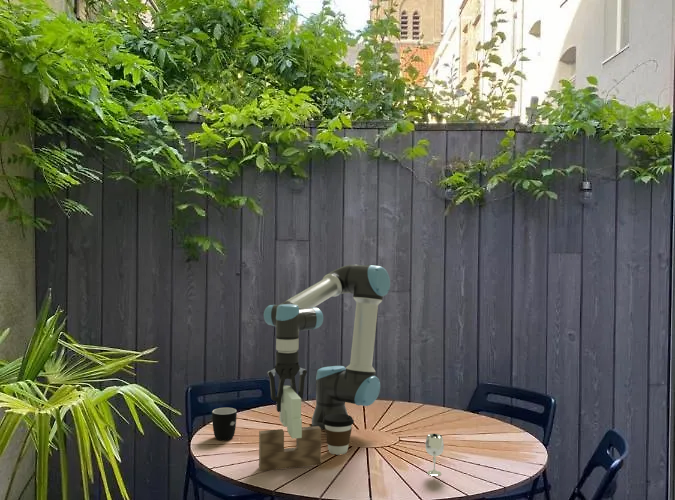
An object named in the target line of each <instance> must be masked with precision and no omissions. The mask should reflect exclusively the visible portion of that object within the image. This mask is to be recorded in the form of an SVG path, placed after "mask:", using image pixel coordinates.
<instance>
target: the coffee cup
mask: <svg viewBox="0 0 675 500" xmlns="http://www.w3.org/2000/svg"><path fill="white" fill-rule="evenodd" d="M354 422H355V420H354V417H352V416H351V415H349V414H348V415H346V414H330V415H327V416H325V417H324V419H323V424H325V430H324V433H325V439H326V444H327V449H328V452H329V453H330V454H331V455H334V454H336V455H335V456H341V455H340V454H342V455H345V454H347V452H348V449H349V445H350V441H351V434H352V426H353V425H354Z"/></svg>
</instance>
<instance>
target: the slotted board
mask: <svg viewBox="0 0 675 500" xmlns="http://www.w3.org/2000/svg"><path fill="white" fill-rule="evenodd" d="M258 431H259V432H258V436H259V437H258V469H259V471H260V472H264V471H267V472H268V471H275V470H284V469H294V468H303V466H306V467H313V466H312V465H316V466H321V465H322V429H321V428H320V427H319V426H303V427H302V438H295V439H296V440H295V441H296V443H295V444H296V446H295V447H288V448H285V431H284V430H283V429H282V428H279V429H266V430H258Z"/></svg>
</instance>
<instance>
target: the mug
mask: <svg viewBox="0 0 675 500" xmlns="http://www.w3.org/2000/svg"><path fill="white" fill-rule="evenodd" d="M237 413H238V412H237V409H236V408H233V407H219V408H215V409H213V410H212V411H211V415H212V416H211V418H212V428H213V429H212V430H213V435H214V438H215V439H216V440H218V441H222V440H224V441H229V440H233V438H234V436H235V433H236V427H237V416H238V415H237Z"/></svg>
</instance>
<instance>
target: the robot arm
mask: <svg viewBox="0 0 675 500" xmlns="http://www.w3.org/2000/svg"><path fill="white" fill-rule="evenodd" d="M390 289H391V279H390V275H389V273H388V271H387V269H385V267H383V266H380V265H373V264H370V265H368V264H363V265H362V264H347V265H344V266H341V267H339V268H336V269H335V270H332V271H330V272H329V273H327V274H325V275H324V276H323V277H322V279H321V280H320V281H318V282H316V283H314V284H312V285H311V286H309V287H307V288H306V289H304V290H303V291H301V292H299V293H297V294H295V295H293V296H292V297H290V298H289V299H287V300H285V301H283V302H281V303H280V304H269V305H268V306H266V307H265V309H264V311H263V320H264V322H265V324H267V325H268V326H273V327H274V328H276V329H275V330H276V332H275V337H276V339H275V341H276V343H275V344H276V345H275V350H276V352H275V366H274V368H273V369H271V370H267V372H266V374H267V375H268V378H269V387H270V388H269V389H270V398H271V400H272V401H273V402H276V412H277V413H279V421H280V423H281V422H283V402H282V401H281V399H282V393H283V387H284V386H285V381H286V380H288V379H289V381H290V382H289V383H290V387H291V388H292V389H293V390H294V391H295V392H296V393H297V395H298V396H299V397H300V398H301V400H303V399H304V388H305V381H306V380H305V377H306V375H307V373H308V371H307V370H306V368H302V367H300V364H299V360H300V357H299V356H300V355H299V353H300V352H299V351H298V350H299V349H300V348H299V342H300V341H299V338H300V337H299V336H300V335H299V334H300V332H303V331H309V330H311V331H312V330H316V329H319V328H320V327H321V326H322V325H323V323H324V313H323V311H322V310H321V309H320V308H318V307H317V306H319V305H320V304H322V303H323V302H325V301H326V300H329V299H330V298H331V297H334V298H335V297H338V296H340V295H343V294H353V295H352V297H353V300H354V301H355V304H356V305H355V314H354V322H353V323H354V324H353V333H352V340H351V341H352V342H351V343H352V344H351V352H350V363H349V364H348V365H347V366H346V367H345V366H343V365H333V366H324V367H321V368H319V369H317V371H316V377H315V387H316V388H315V408H314V410H313V411H314V412H313V414H312V417H311V427H313V426H319V427H320V428H321V430H324V431H325V424H323V419H324V417H325V416H327V415H330V414H346V415H349V414H348V411H347V407H346V403H347V404H354V405H356V406H363V407H368V406H371V405H372V404H374V403H375V401H376V400H377V399H378V397H379V395H380V390H381V382H380V379H379V378H378V377H377V376H376V370H375V368H374V367H373V361H374V359H373V358H374V352H375V351H374V349H375V339H376V331H377V330H376V329H377V320H378V319H377V318H378V311H379V309H378V308H379V305H380V304H381V303H382V302H383V300H384V299H383V298H384V296H387V295H388V293H389V291H390ZM298 373H299V380H298V391H297V385H296V378H295V377H296V375H297V374H298ZM276 375H278V376H279V378H278V385H277V394H276V384H275V376H276Z"/></svg>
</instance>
